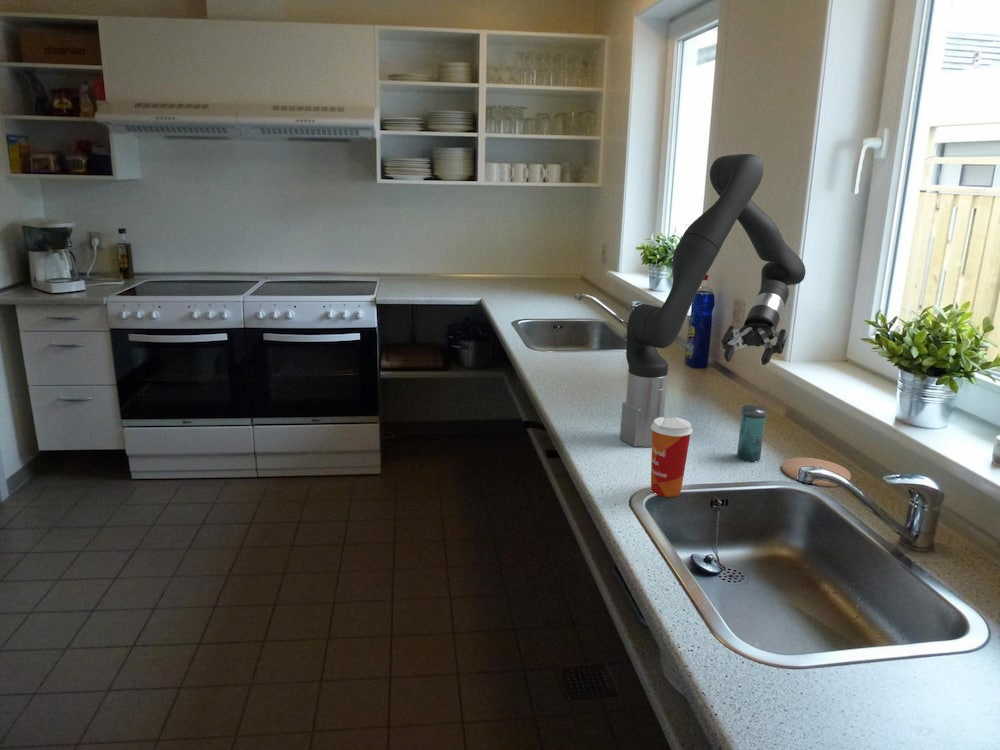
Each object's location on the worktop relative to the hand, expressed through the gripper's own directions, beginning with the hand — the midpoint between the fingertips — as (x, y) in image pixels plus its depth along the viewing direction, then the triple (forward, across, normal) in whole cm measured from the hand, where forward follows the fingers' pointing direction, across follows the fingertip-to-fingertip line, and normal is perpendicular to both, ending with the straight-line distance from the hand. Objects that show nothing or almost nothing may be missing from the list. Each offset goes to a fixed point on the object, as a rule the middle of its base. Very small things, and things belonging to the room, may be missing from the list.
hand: (745, 360), depth 175 cm
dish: (+18, +19, +15) cm, 30 cm away
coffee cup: (+43, -3, -4) cm, 43 cm away
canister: (+18, +4, +13) cm, 23 cm away
